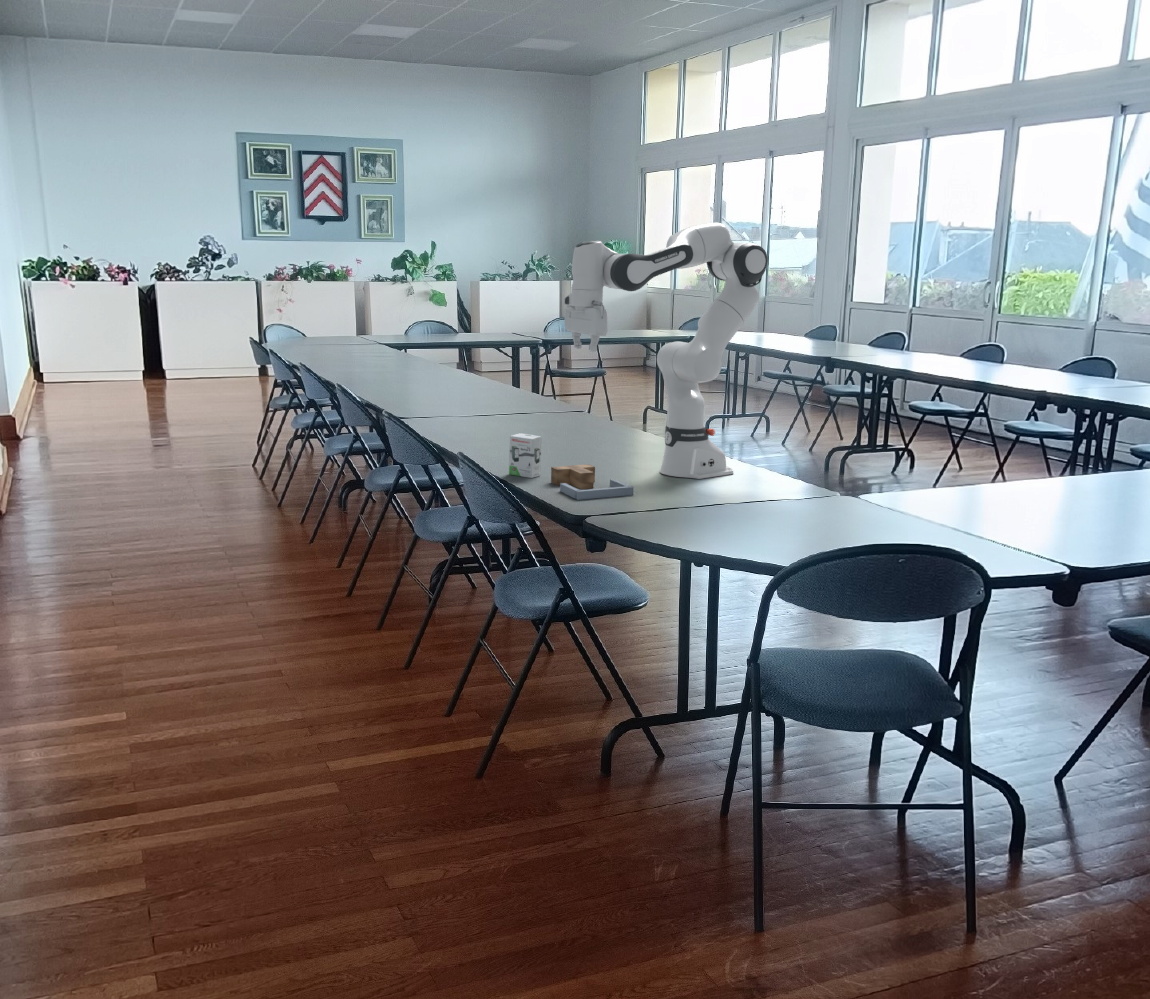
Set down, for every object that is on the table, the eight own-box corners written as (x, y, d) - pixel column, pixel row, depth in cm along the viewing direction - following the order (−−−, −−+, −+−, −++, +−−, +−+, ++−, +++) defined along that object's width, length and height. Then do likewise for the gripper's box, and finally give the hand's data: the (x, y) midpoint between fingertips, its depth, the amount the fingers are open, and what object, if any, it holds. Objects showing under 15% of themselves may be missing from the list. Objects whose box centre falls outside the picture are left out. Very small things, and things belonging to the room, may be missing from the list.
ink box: (508, 474, 311) (508, 435, 309) (517, 471, 315) (518, 432, 313) (531, 478, 307) (532, 438, 304) (541, 475, 311) (542, 436, 308)
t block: (588, 479, 307) (588, 464, 306) (605, 487, 297) (606, 471, 296) (551, 482, 302) (551, 467, 301) (567, 490, 292) (567, 474, 291)
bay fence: (614, 486, 298) (614, 479, 298) (633, 494, 288) (633, 486, 288) (560, 491, 291) (560, 483, 290) (577, 499, 281) (577, 491, 281)
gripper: (614, 302, 287) (612, 353, 290) (580, 298, 305) (579, 346, 308) (593, 301, 284) (591, 353, 288) (561, 298, 302) (559, 346, 305)
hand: (585, 349), depth 298 cm, fingers open, 8 cm apart
